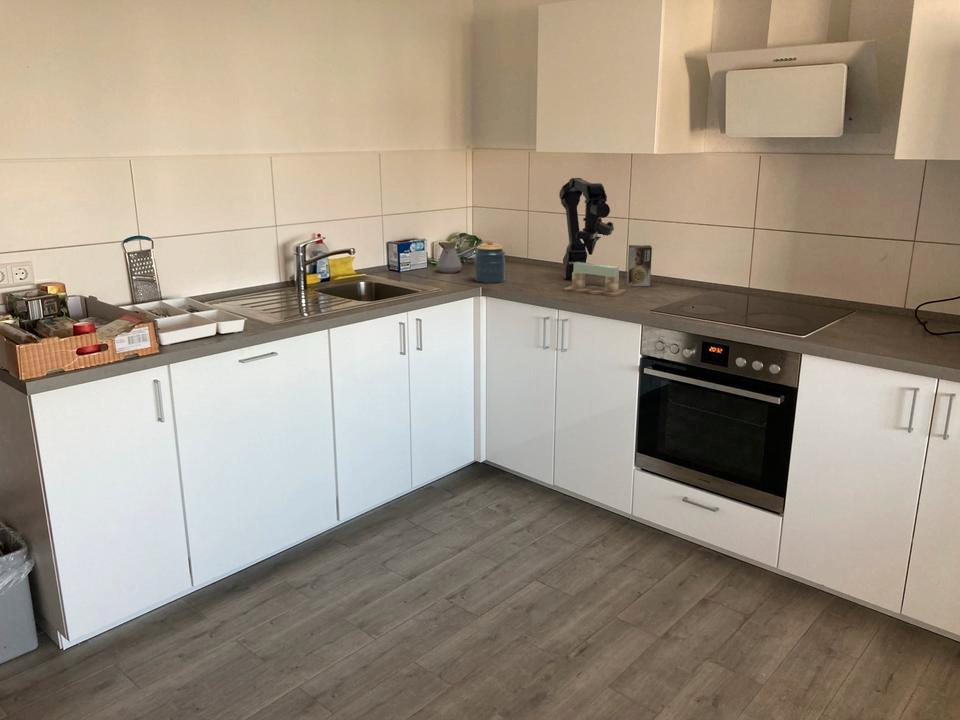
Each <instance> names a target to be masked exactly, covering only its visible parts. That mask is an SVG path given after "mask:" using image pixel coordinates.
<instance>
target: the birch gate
mask: <svg viewBox="0 0 960 720" xmlns="http://www.w3.org/2000/svg"><path fill="white" fill-rule="evenodd" d="M604 280H605V284H604V286H596V285H587V284H586V274H585V273H577V272H573V273H572V280H571V285H569V286H566V287H564V288H563V290H565V291H564V292H568V291H574V292H573V293H577V292H582V293H581V294H586V293H591V294H590V295H596V294H599V295H598V296H605V295H607V296H606V297H614V296H617V297H618V296H621V295H622V294H624V293H627V289H623V288H619V284H620V283H619V281H620V275H619V276H616V277H608V276H605V279H604Z"/></svg>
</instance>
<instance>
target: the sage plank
mask: <svg viewBox="0 0 960 720" xmlns="http://www.w3.org/2000/svg"><path fill="white" fill-rule="evenodd" d="M573 272H577V273H585V275H592V276H593V275H594V276H600V277H601V276H602V277H606V276H608V277H616V276H619V277H620V275H619V274H620V266H615V265H614V266H613V265H608V264H607V265H605V264H599V263H598V264H597V263H591V262H590V263H589V262H586V263H582V262H577V263H574V269H573Z"/></svg>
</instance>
